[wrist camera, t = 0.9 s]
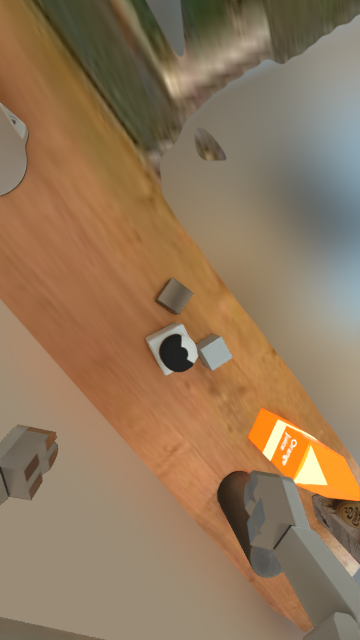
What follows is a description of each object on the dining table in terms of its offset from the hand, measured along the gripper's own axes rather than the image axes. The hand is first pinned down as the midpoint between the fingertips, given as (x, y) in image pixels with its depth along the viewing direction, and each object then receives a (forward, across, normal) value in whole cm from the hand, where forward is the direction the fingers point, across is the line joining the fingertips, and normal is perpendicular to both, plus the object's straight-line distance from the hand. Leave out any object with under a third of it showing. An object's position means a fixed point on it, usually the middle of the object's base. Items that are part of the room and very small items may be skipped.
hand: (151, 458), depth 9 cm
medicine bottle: (+35, +3, +16) cm, 39 cm away
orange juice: (+34, -24, +34) cm, 54 cm away
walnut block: (+39, +4, +8) cm, 40 cm away
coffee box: (+32, -45, +52) cm, 76 cm away
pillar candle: (+27, -19, +47) cm, 57 cm away
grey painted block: (+37, -6, +17) cm, 42 cm away
